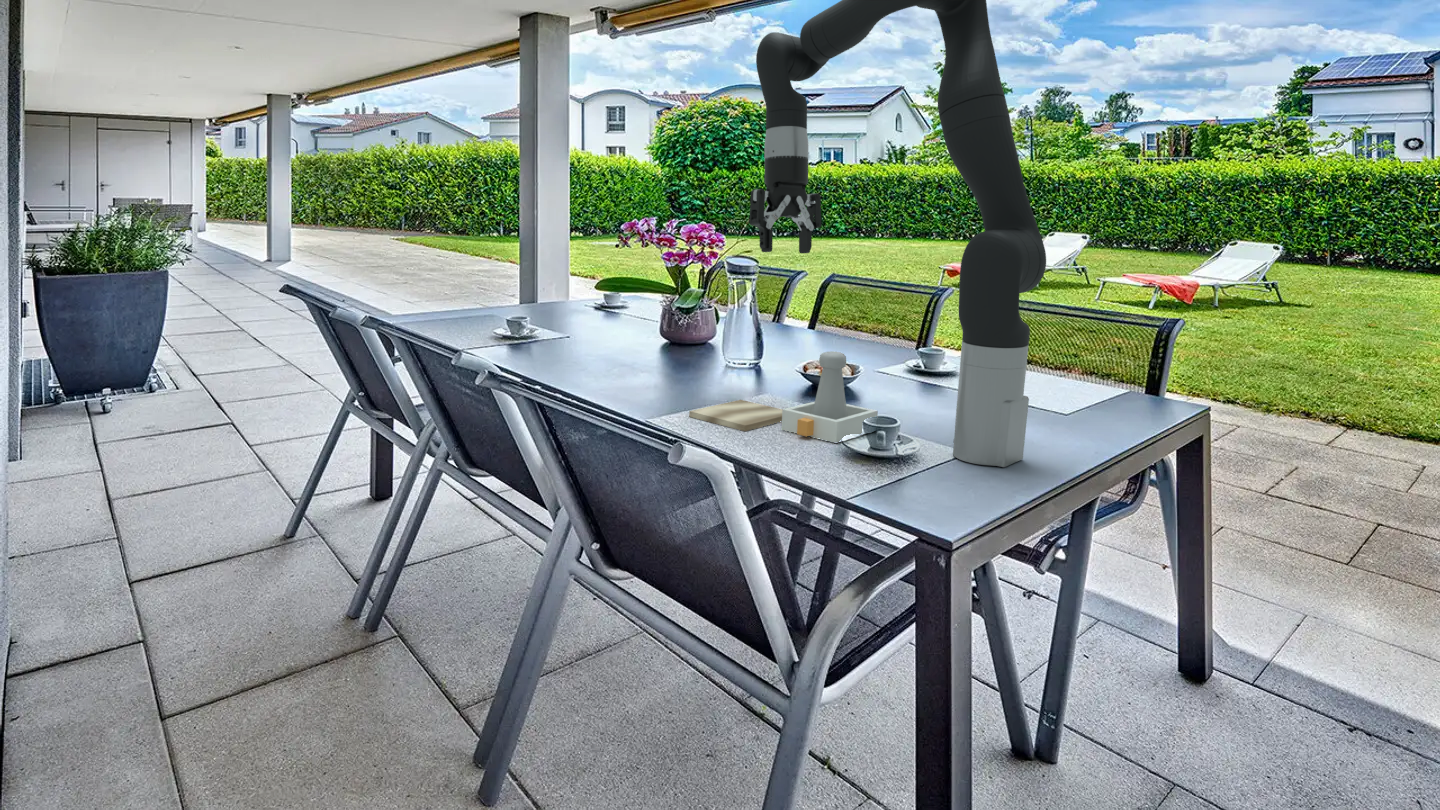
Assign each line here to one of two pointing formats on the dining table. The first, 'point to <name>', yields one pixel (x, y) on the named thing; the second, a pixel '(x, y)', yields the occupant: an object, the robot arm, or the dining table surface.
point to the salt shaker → (831, 387)
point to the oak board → (739, 415)
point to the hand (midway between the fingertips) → (786, 252)
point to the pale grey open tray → (824, 422)
